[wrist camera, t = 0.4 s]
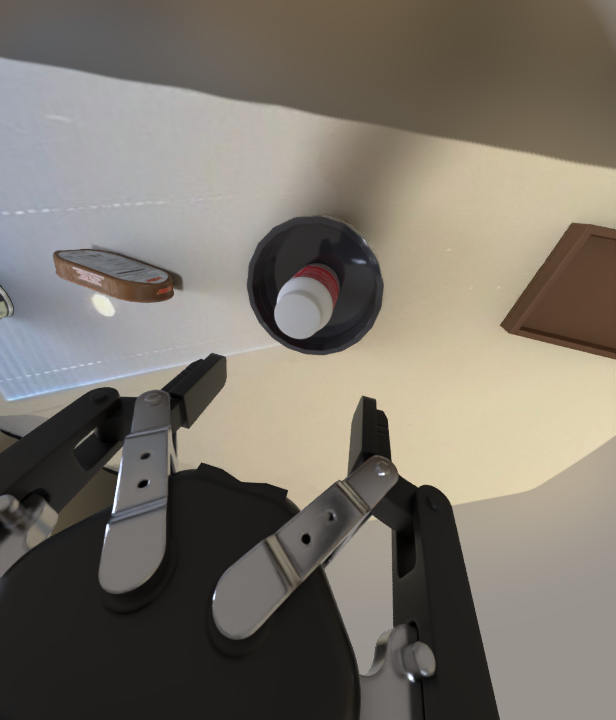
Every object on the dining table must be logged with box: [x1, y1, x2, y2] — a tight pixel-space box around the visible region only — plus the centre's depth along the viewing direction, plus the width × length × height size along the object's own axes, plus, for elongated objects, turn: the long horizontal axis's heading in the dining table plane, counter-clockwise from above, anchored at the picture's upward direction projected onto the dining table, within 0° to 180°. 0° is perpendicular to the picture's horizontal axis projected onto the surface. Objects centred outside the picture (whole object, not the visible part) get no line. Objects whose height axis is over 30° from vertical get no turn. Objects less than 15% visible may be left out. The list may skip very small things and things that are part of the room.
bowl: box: [247, 215, 384, 355], centre depth 30 cm, size 16×16×4 cm
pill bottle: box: [274, 263, 340, 339], centre depth 27 cm, size 6×6×11 cm
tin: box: [53, 249, 174, 303], centre depth 33 cm, size 15×3×8 cm, turn 75°
